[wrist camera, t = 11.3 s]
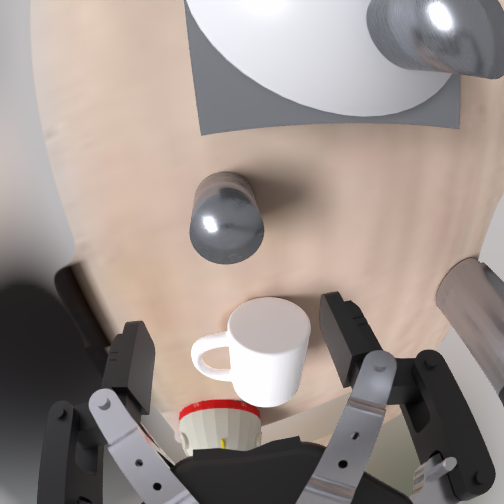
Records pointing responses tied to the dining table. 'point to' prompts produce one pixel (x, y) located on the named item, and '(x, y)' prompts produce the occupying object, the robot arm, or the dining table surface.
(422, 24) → the cylinder
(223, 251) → the cylinder
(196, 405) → the kitchen timer
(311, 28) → the scale
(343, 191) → the dining table surface
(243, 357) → the mug
